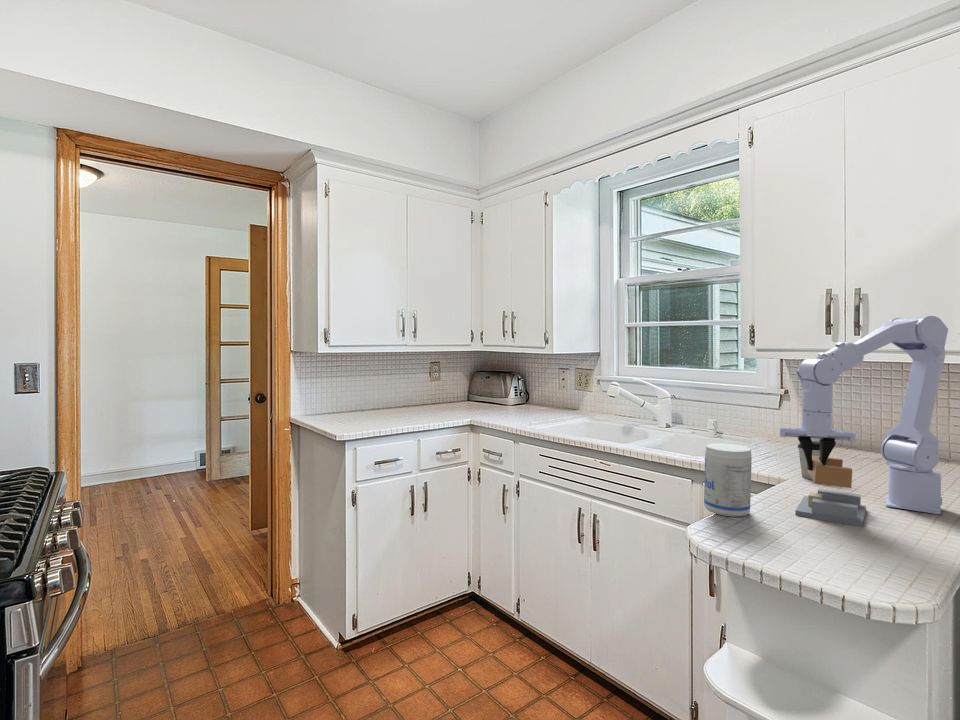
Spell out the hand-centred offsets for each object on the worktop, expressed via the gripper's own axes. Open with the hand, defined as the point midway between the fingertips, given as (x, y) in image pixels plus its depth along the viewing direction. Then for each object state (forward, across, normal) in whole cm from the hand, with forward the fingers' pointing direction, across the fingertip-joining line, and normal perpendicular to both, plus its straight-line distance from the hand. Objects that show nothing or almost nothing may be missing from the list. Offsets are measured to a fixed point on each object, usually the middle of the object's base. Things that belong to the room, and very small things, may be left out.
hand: (815, 470), depth 118 cm
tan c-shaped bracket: (+2, -2, 0) cm, 3 cm away
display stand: (+9, -3, +2) cm, 9 cm away
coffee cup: (+9, -3, -33) cm, 34 cm away
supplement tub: (+9, +18, +10) cm, 23 cm away
